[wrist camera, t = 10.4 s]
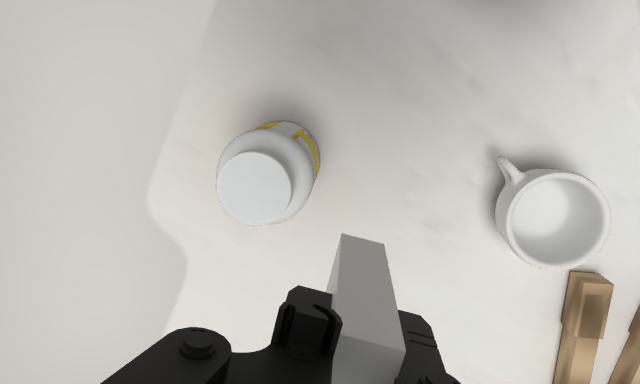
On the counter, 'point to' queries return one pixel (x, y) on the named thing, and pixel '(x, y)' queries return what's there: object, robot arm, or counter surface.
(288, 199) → the supplement bottle
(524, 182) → the teacup
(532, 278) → the counter surface
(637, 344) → the wooden tongs
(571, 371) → the tong arm
